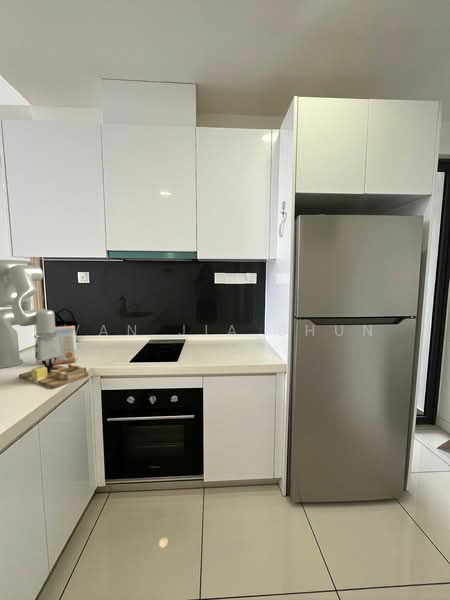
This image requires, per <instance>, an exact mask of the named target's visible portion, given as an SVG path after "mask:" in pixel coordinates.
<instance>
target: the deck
mask: <svg viewBox="0 0 450 600" xmlns="http://www.w3.org/2000/svg"><path fill="white" fill-rule="evenodd" d="M53 370H56V371H60V372H64V373H70V372H73V371H70V370H68V366H67V367H66V366H61V365H60V364H54V365H53ZM47 375H48V377H45V378H42V379H39V380H36V379H33V378H32V370H30V371H27V372H24V373H21V374H18V378H19V379H22V380H25V381H28V382H30V383H34V384H37V385H40V386H43V387H46V388H49V389H52V390H53V389H57V388H60V387H63V386H65V385H68V384H71V383H73V382H76V381H79V380H82V379H85V378H87V377H89V373H88V372H86V374H84V375H81V376H78V377H76V378H73V379H70V380H67V381H66V380H62V379H59V378H55V377H52V376H50V373H47Z"/></svg>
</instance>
